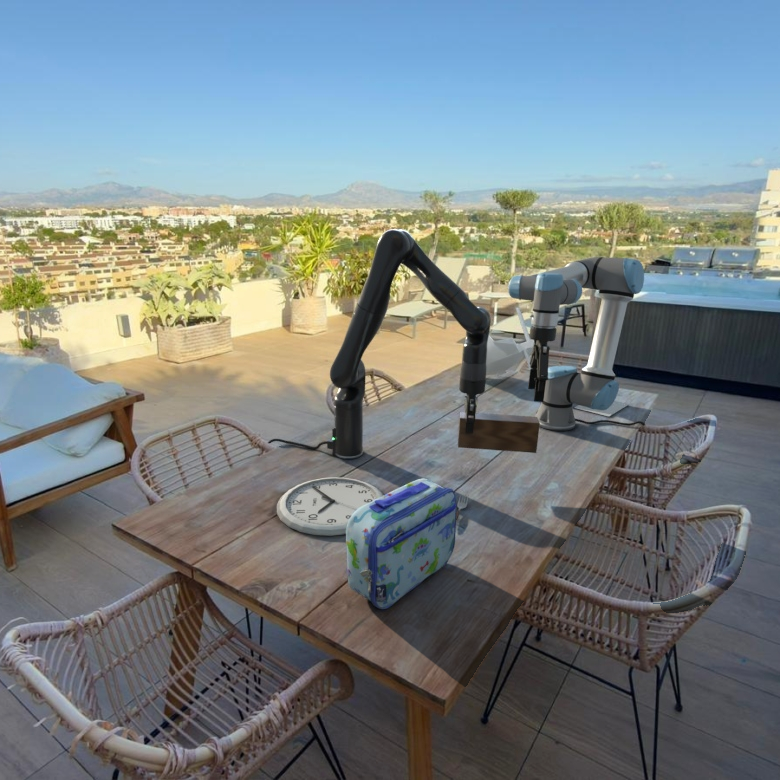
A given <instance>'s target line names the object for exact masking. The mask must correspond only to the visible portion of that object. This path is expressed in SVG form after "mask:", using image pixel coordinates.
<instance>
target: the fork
mask: <svg viewBox="0 0 780 780" xmlns="http://www.w3.org/2000/svg"><path fill="white" fill-rule="evenodd" d="M461 496H462V497H461ZM469 496H470V494H467V495H465V496H464V494H460V495H459V498H458V501H457V503H456V508H458V510H456V521H457V520H458V519H459V517H460V513H461V510H463V509H465V508H467V506H468V502H469V501H468V500H469ZM466 497H467V498H466Z"/></svg>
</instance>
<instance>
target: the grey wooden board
mask: <svg viewBox="0 0 780 780" xmlns="http://www.w3.org/2000/svg"><path fill="white" fill-rule="evenodd" d="M628 406H629V404H627V403H623V402H618V401H614V402H613V404H612V405H611V406H610V407H609V408H608V409H606V410H597V409H591V408H589V407H585V406H581V405H575V406H574V407H573V409H575V410H581V411H584V412H587V413H593V414H596V415H600V416H604V417H608V418H609V417H611V416H613V415H614V414H616V413H617V412H619V411H621V410H623V409H624V408H626V407H628Z"/></svg>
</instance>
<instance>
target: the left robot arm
mask: <svg viewBox="0 0 780 780" xmlns="http://www.w3.org/2000/svg"><path fill="white" fill-rule="evenodd" d="M373 254H374V255H373V259H372V262H371V266H370V270H369V272H368V275H367V278H366V280H365V282H364V284H363V287H362V289H361V292H360V294H359V297H358V299H357V301H356V305H355V307H354V310H353V312H352V315H351V319H350V321H349V324H348V327H347V330H346V333H345V336H344V339H343V342H342V344H341V347H340V349H339V350H338V352H337V354H336V356H335V358H334V359H333V362H332V364H331V366H330V370H329V378H330V381H331V383H332V385H333V386H334V387H336V388H338V389H337V392H336V394H335V396H334V399H333V404H334V405H333V406H334V407H333V408H334V409H333V410H334V426H333V427H332V428H331V433H332V434H331V435H332V436H331V437H330V438H329V439H327V440H325V441H321V442H319V443H318V444H317V445H316V446H311V445H308V444H304V443H299V442H297V441H296V442H295V441H290V440H285V439H281V438H272V439H270V440H269V441H268V442H267V444H272V443H273V442H279V443H284V444H288V445H294V446H298V447H301V448H306V449H309V450H318V449H320V447H321V446H323V445H326V449H327V450H332V456H335V457H337V458H339V459H342V460H354V459H358V458H360V457H362V456H363V454H364V450H363V449H364V447H363V445H364V444H363V442H364V441H363V436H364V435H363V434H364V432H363V429H364V421H363V419H364V415H363V414H364V413H363V412H364V410H363V408H364V405H363V403H364V402H363V401H364V398H365V394H366V377H367V376H366V366H365V364H364V363H365V362H364V361H363V360H362V358H363V355H364V354H365V351H366V350H367V348H368V347H369V346H370V344H371V343H372V341H373V340H374V339H375V337H376V335H377V334H378V332H379V331H380V329H381V327H382V324H383V322H384V319H385V317H386V315H387V312H388V309H389V304H390V299H391V288H392V284H393V281H394V279H395V277H396V274H397V272H398V270H399V269H400V267H401V265H403V266H404V267H406V268H407V269H408V270H410V271H411V272H412V273H413V274H414V275H415V276H416V277H417V278H418V279H419V280H420V282H421V283H422V285H423V286H424V287H425V288H426V290H427V291H428V293H429V294H430V295H431V296H432V297H433V298H434V299H435V300H436V301H437V302H438V303H439V304H440V305H441V306H442V307H443V308H445V310H447V311H448V312H449V313H450V314H451V315H452V317H453V318H454V319H455V320H456V322H457V323H458V324H459V325H460V327H461V328H463V329H464V330H465V340H464V342H463V346H462V354H461V355H462V356H461V364H460V371H459V386H458V387H459V388H458V390H459V391H460V393H463V394H465V395H464V397H463V398H464V412H465V414H466V433H467V434H472V433H473V427H474V422H475V414H476V413H478V412H477V411H478V405H479V396H477V395H482V394H484V393H485V391H486V381H487V380H486V379H487V376H486V358H487V341H488V336H489V335H490V330H491V314H490V312H489V310H487V308H485V307H482V306H476V305H475V304H474V303H473V302H472V301H471V300H470V299H469V297H468V294H467V293H466V292H465V291H464V290H463V289H462V288H461V287H460V286H459V285H458V284H457V283H456V282H455V281H454V280H452V278H450V277H449V276H448V275H447V274H446V273H445V272H444V271H443V270H442V269H441V268H439V266H437V265H436V264H435V262H434V261H433V260H432V259H430V257H429V256H428V255H427V254H426V253H425V252H424V250H423V249H422V248H421V246H420V245H419V244H418V243H417V241H416V240H415V239H414V237H413V236H412V235H411V234H410V233H409V232H408V231H407V230H404V229H402V228H395V229H388V230H386V231H385V232H383V233H382V234H381V235H380V236H379V238H378V241H377V244H376V247H375V251H374V253H373ZM469 415H470V416H473V418H468V416H469Z"/></svg>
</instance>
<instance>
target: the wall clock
mask: <svg viewBox="0 0 780 780" xmlns="http://www.w3.org/2000/svg"><path fill="white" fill-rule="evenodd" d="M384 495H385V494H384V493H383V492H382V491H381V490H380V489H379V488H377V487H376V486H374V485H372V484H371V483H369V482H365V481H362V480H359V479H355V478H349V477H338V476H337V477H335V476H333V477H332V476H331V477H322V478H317V479H312V480H307V481H305V482H302V483H299V484H297V485H295V486H293V487H292V488H290V489H288V490H287V491H286V492H285V493H284V494H283V495H281V496H280V498H279V499H278V502H277V503H276V515H277V517H278V518H279V520H280V521H281V522H282V523H283V524H285V525H286V526H287V527H288V528H290V529H293V530H295V531H297V532H299V533H303V534H308V535H312V536H327V537H328V536H329V537H331V536H332V537H333V536H342V535H346V528H347V524H348V521H349V519H350V517H351V515H352V514H353V513H354V512H355V511H356V510H357V509H358V508H360V507H362V506H364V505H366V504H368V503H370V502H372V501H374V500H376V499H378V498H380V497H382V496H384Z"/></svg>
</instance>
